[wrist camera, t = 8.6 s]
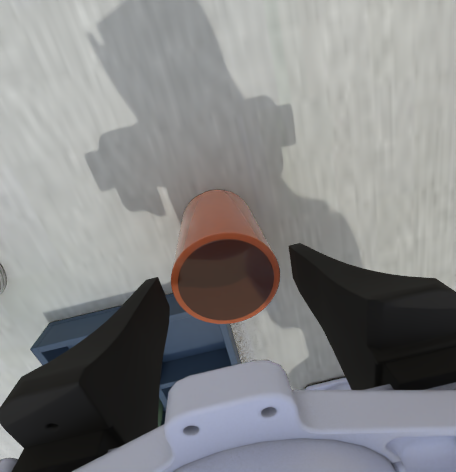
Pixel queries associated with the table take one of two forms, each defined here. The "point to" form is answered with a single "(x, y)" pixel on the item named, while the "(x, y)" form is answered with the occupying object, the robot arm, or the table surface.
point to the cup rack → (176, 348)
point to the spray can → (2, 280)
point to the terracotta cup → (222, 261)
